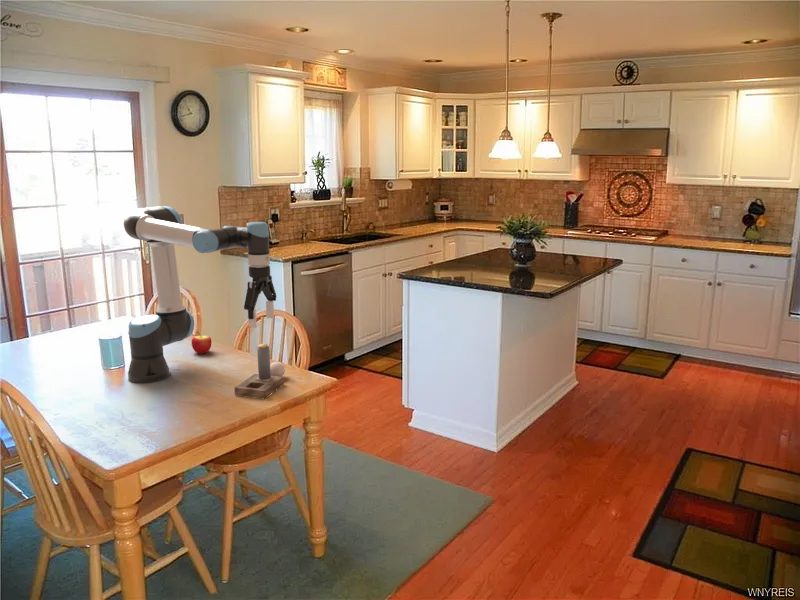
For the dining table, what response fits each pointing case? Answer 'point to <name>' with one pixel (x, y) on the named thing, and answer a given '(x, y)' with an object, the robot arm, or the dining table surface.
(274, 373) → the light bulb
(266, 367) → the plug
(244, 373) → the dining table surface
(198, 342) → the apple
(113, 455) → the dining table surface
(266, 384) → the wooden socket board
